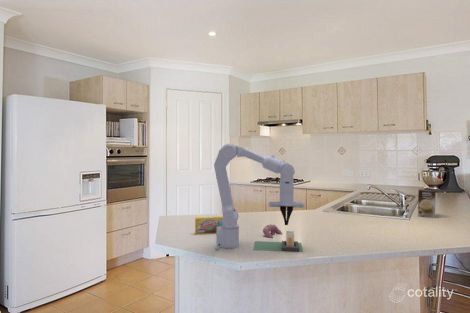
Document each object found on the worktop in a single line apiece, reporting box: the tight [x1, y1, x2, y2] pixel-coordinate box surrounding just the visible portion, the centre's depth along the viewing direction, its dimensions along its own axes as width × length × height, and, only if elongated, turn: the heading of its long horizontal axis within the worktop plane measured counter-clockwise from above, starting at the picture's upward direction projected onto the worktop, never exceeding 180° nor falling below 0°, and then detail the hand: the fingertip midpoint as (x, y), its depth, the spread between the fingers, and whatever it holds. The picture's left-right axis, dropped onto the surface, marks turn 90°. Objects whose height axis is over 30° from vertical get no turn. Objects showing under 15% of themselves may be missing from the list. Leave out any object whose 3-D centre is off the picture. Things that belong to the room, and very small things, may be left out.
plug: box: [285, 230, 295, 247], centre depth 127 cm, size 3×5×6 cm, turn 172°
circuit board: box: [252, 240, 304, 253], centre depth 130 cm, size 20×12×1 cm, turn 82°
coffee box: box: [417, 189, 436, 219], centre depth 190 cm, size 9×6×16 cm
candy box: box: [194, 215, 223, 235], centre depth 154 cm, size 16×2×8 cm, turn 101°
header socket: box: [281, 240, 300, 253], centre depth 127 cm, size 7×9×2 cm
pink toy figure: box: [262, 224, 283, 239], centre depth 146 cm, size 10×5×7 cm, turn 142°
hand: (286, 224), depth 129 cm, fingers closed
